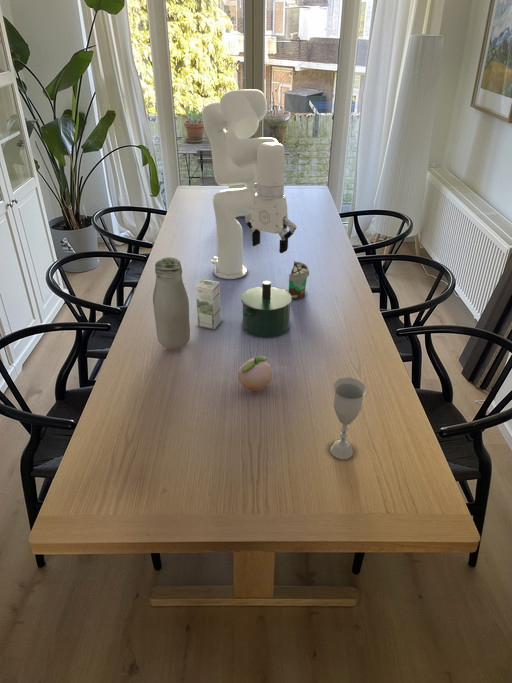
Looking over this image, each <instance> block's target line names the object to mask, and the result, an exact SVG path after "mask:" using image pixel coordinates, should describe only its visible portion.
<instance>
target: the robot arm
mask: <svg viewBox="0 0 512 683" xmlns="http://www.w3.org/2000/svg"><path fill="white" fill-rule="evenodd" d="M267 112H268V101H267V98H266V96H265V94H264V92H262V91H261V90H259V89H251V88H249V89H232V90H228V91H226V92H224V94H223V95H222V96H221V97H220V101H212V102H209V103H207V104H205V105H204V107H203V108H202V114H201V116H202V123H203V129H204V131H205V134H206V137H207V139H208V142H209V144H210V151H211V160H212V162H211V163H212V171H213V177H214V180H215V183H216V184H217V185H219V186H222V187H224V186H226V187H227V186H228V187H229V185H240V184H245V186H246V188H242V189H229V188H228V189H223V190H219V191H217V192H216V193H215V194H214V195H213V197H212V208H213V212H214V216H215V217H214V218H215V226H216V229H215V230H216V253H217V254H216V255H217V256H213V257H212V259H211V261H210V263H211V264H212V265H215V267H214V269H213V273H214V276H216V277H218V278H220V279H224V280H236V279H240V278H243V277H244V276H246V275H247V274H248V269H247V267H246V266H245V265H244V256H243V255H244V252H243V251H244V250H243V246H244V245H243V240H244V238H243V227H242V225H241V223H240V222H239V221H238V220H237V219H236V218H238V217H242V216H245V215H246V216H245V217H244V220H245V222H246V225H247V227H248V229H249V232H250V233H251V242H252V243H251V244H252V247H256V246H258V245H260V244H261V232H262V231H263V232H266V233H270V234H274V235H275V234H278V236H279V237H280V240H279V249H278V250H279V251H278V252H279V253H280V254H284V253H285V252H287V251H288V249H289V238H291V237H292V236H293V235H294V234H295V232H296V230H297V225H296V223H295V224H294V222H293V221H291V220H290V218H288V217H289V216H288V214H289V213H288V204H287V198H286V195H284V194H285V193H284V192H285V191H284V190H285V165H286V164H285V161H286V149H285V146H284V145H283V144H281V143H279V141H278V140H277V138H275V137H271V136H270V137H267V136H266V137H253V136H254V135H255V134H256V133H257V131H258V128H259V126H260V122H261V121H262V120H263V119H264V118H265V116H266V114H267ZM287 229H288V230H287Z"/></svg>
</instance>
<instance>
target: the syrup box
mask: <svg viewBox="0 0 512 683" xmlns="http://www.w3.org/2000/svg"><path fill="white" fill-rule="evenodd" d="M220 288H221V287H220V281H217V280H210V279H201V280H199V282H198V283H197V284H196V285H195V295H196V296H195V297H196V310H197V313H196V314H197V326H198V327H200V328H205V329H210V330H215V329H216V328H217V327H218V326H219V325H220V324H221V322H222V316H221V295H220V294H221V291H220Z"/></svg>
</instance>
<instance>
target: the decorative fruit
mask: <svg viewBox="0 0 512 683" xmlns="http://www.w3.org/2000/svg"><path fill="white" fill-rule="evenodd" d="M272 378H273V368H272V366H271V365H270V363H269V362H268V361H267V357H266V356H262V355H260V356H256V357H252V358H249V359H248V360H247V361H246V363H244V364H243V365H241V366H240V367H239V369H238V372H237V380H238V382H239V384H240V385H241V386H242V387H243V388H244V389H245V390H248V391H250V392H257V391H260V390H263V389H265V388H266V387H267V386H268V385H269V384H270V383H271V382H272Z"/></svg>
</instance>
